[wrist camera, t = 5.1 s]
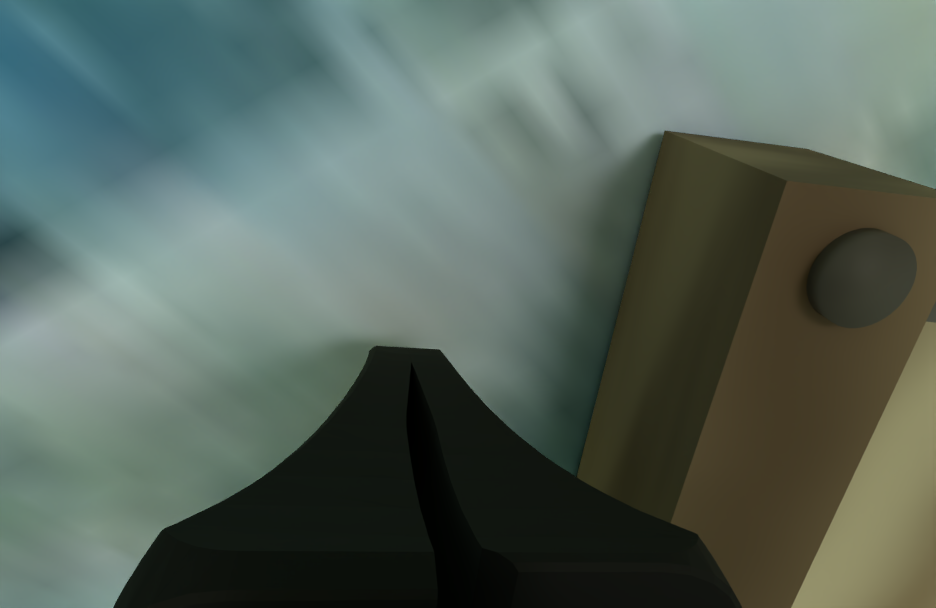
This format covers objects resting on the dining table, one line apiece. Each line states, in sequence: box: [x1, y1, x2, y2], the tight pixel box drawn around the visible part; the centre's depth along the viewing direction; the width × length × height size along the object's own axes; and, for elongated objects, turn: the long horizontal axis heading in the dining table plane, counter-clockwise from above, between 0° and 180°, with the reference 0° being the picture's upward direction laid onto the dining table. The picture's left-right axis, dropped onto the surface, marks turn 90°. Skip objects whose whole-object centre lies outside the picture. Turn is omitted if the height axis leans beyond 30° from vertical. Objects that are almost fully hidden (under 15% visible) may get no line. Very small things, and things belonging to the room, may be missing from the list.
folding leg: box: [577, 131, 936, 608], centre depth 12 cm, size 3×10×4 cm, turn 172°
